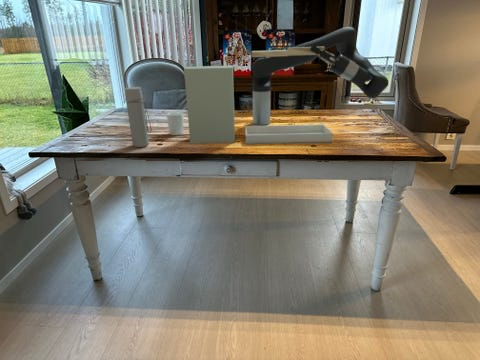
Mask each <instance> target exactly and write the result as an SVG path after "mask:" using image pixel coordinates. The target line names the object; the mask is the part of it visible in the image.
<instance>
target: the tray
mask: <svg viewBox="0 0 480 360" xmlns="http://www.w3.org/2000/svg"><path fill="white" fill-rule="evenodd" d="M244 127H245V129H244V132H245V133H244V136H245V145H268V144H270V145H271V144H272V145H274V144H312V143H313V144H315V143H316V144H318V143H333V136H334V133H333V132H332V131H331V130H330V129H329V127H328V126H326V124H287V125H285V124H284V125H283V124H282V125H276V124H275V125H245V126H244Z"/></svg>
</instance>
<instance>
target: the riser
mask: <svg viewBox="0 0 480 360" xmlns="http://www.w3.org/2000/svg"><path fill="white" fill-rule="evenodd" d="M183 74H184V88H185V97H186V108H187V109H186V110H187V122H188V133H189V143H190V144H218V143H219V144H220V143H221V144H223V143H236V142H235V141H236V139H235V138H236V127H235V126H236V125H235V95H234V93H235V91H234V66H233V65H208V66H207V65H205V66H204V65H203V66H202V65H201V66H187V67H184V68H183Z"/></svg>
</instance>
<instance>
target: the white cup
mask: <svg viewBox="0 0 480 360" xmlns="http://www.w3.org/2000/svg"><path fill="white" fill-rule="evenodd" d="M166 119H167V125H168V132H169V134H170V135H171V136H180V135H181V136H182V135H183V134H184V112H182V111H172V112H171V111H169V112H168V113H166Z"/></svg>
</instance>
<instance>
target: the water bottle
mask: <svg viewBox="0 0 480 360" xmlns="http://www.w3.org/2000/svg"><path fill="white" fill-rule="evenodd" d="M124 89H125V90H124V91H125V93H124V94H125V103H126V109H127V110H126V111H127V115H128V117H127V118H128V124H129V129H130V136H131V142H132V146H133V147H135V148H144V147H147V146H148V145H149V144H150V141H149V135H148V134H151V133H152V126H151V121H150V115H149V112H148V108H147V105H146V104H147V103H146V98H144V96H143V92H142V87H141V86H130V87H125V88H124ZM147 117H148V119H147ZM148 122H149V127H150V131H149V128H148Z"/></svg>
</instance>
